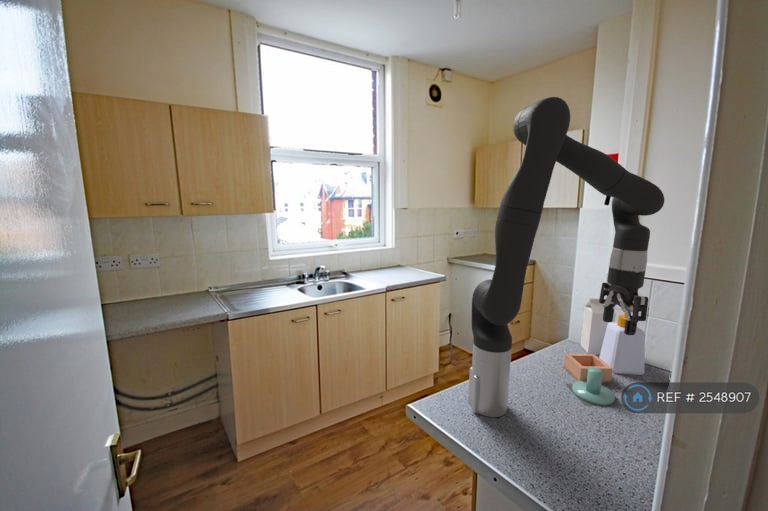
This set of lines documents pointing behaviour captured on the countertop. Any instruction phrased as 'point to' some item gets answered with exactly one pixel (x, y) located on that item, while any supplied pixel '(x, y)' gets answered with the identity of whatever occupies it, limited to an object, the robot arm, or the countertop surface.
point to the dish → (586, 366)
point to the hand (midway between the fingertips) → (617, 327)
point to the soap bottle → (623, 348)
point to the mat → (616, 403)
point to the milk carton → (594, 327)
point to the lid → (593, 389)
